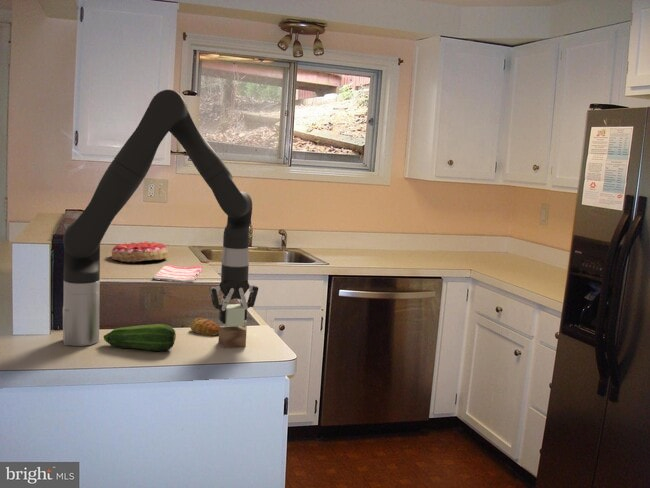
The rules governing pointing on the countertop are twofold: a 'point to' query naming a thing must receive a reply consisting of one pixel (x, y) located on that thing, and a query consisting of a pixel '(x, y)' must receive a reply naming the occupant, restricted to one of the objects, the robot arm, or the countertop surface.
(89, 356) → the countertop surface
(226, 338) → the walnut block
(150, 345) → the vegetable
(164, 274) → the dish towel
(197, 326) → the pastry
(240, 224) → the robot arm
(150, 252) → the cake
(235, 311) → the sage cube
